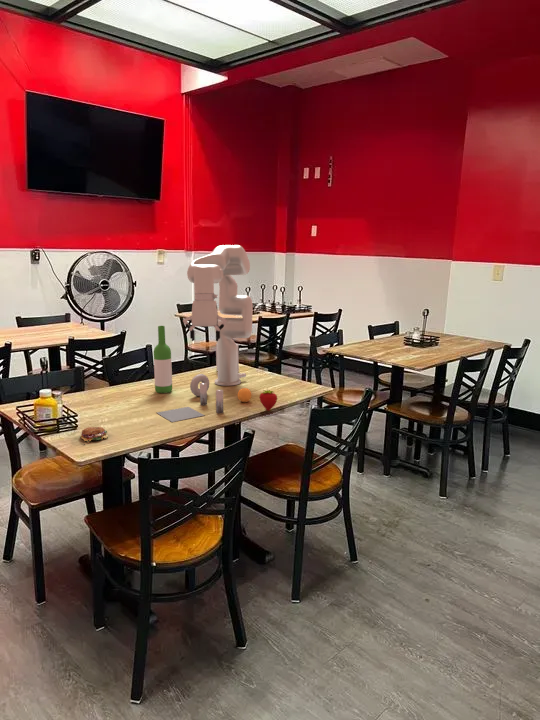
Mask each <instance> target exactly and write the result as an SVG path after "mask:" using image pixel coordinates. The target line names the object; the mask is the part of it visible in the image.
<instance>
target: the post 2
mask: <svg viewBox="0 0 540 720" xmlns="http://www.w3.org/2000/svg"><path fill="white" fill-rule="evenodd" d="M215 400H216V401H215V402H216V403H215V407H216V408H215V412H216V413H217V414H223V413H224V390H223V389H216V390H215Z"/></svg>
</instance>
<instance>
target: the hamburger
mask: <svg viewBox="0 0 540 720" xmlns="http://www.w3.org/2000/svg"><path fill="white" fill-rule="evenodd" d="M107 437H108V438H109V436H108V431H107V430H106V429H105V428H104V427H102V426H88V427H85V428H83V429H82V431H81V432H80V436H79V438H81V440H82V439H83V440H84V442H85V441H88V440H89V441H90V442H92V441H91V440H95V441H99V440H104V439H107ZM103 438H104V439H103Z"/></svg>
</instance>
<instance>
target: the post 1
mask: <svg viewBox="0 0 540 720" xmlns="http://www.w3.org/2000/svg"><path fill="white" fill-rule="evenodd" d="M199 389H200V396H199V398H200V399H199V403H200V406H207V405H208V391H207V383H202V382H199Z"/></svg>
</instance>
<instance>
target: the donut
mask: <svg viewBox="0 0 540 720" xmlns="http://www.w3.org/2000/svg"><path fill="white" fill-rule="evenodd" d="M200 383H207V392H208V391H209V388H210V380H209V377H207V375H206V374H204V373H198V374H196V375H194V376H193V377H192V379H191V381H190V385H189V387H190V392H191V393H192V394H193V396H195V397H200V387H199V385H200Z"/></svg>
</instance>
